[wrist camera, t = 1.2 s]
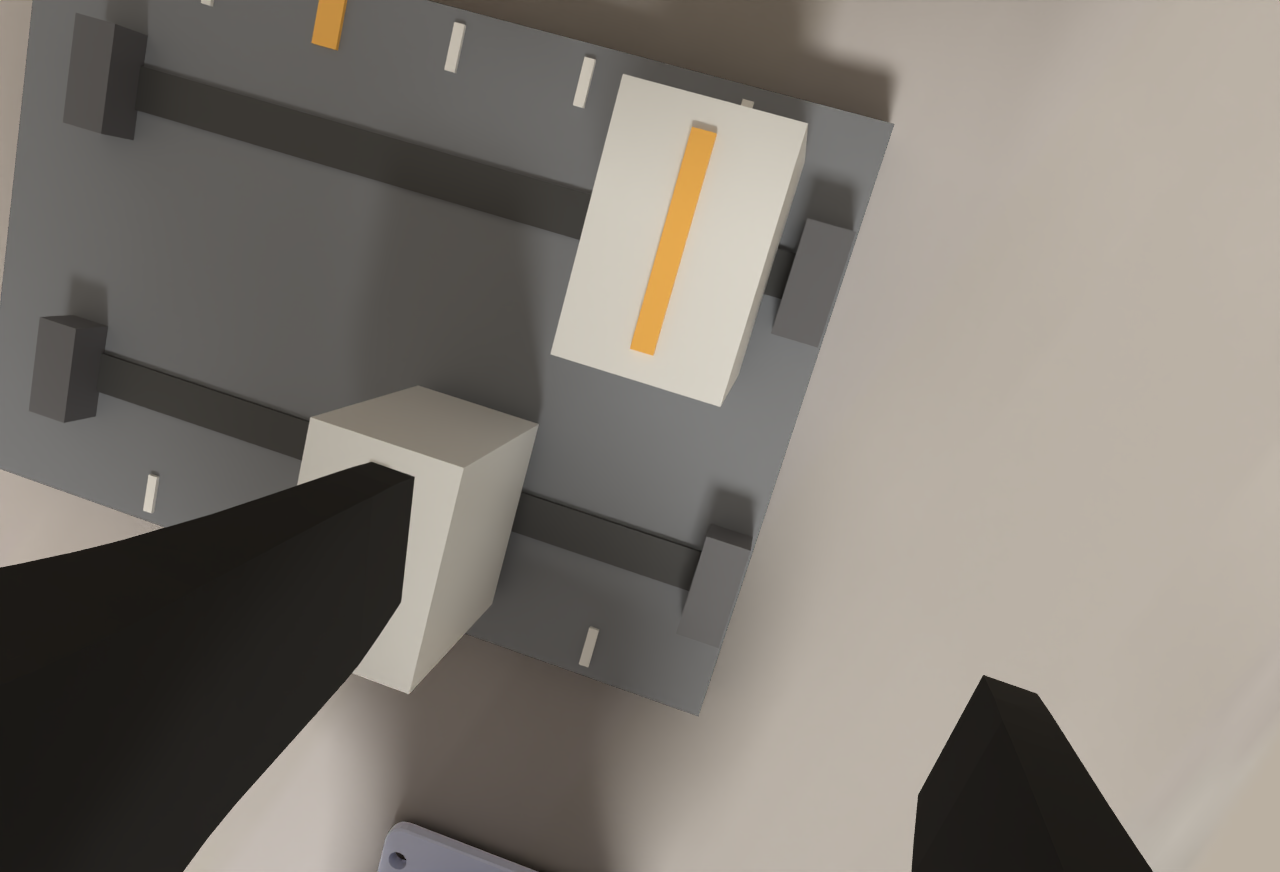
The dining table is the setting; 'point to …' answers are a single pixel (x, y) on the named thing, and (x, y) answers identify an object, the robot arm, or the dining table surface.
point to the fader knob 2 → (679, 239)
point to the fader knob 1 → (432, 511)
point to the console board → (390, 292)
